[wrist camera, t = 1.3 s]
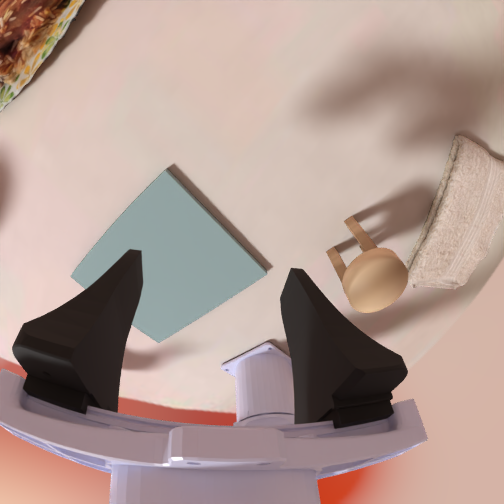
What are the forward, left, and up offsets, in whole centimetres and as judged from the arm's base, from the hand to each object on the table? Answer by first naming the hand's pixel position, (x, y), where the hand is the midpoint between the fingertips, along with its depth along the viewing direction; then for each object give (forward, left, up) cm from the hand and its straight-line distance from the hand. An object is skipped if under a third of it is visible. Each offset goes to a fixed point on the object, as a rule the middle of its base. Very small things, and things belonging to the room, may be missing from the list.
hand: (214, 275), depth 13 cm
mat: (-2, +10, -11) cm, 14 cm away
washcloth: (-18, -19, -11) cm, 29 cm away
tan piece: (-11, -6, -11) cm, 16 cm away
